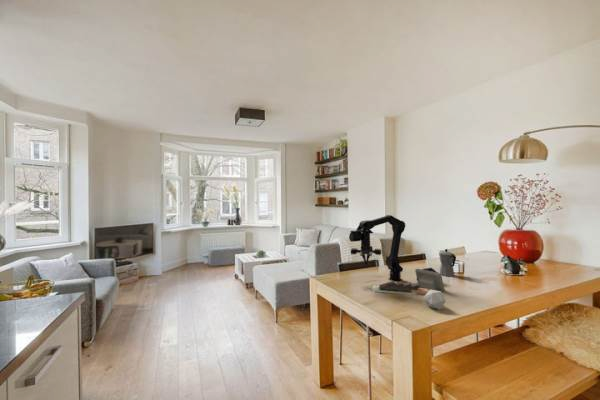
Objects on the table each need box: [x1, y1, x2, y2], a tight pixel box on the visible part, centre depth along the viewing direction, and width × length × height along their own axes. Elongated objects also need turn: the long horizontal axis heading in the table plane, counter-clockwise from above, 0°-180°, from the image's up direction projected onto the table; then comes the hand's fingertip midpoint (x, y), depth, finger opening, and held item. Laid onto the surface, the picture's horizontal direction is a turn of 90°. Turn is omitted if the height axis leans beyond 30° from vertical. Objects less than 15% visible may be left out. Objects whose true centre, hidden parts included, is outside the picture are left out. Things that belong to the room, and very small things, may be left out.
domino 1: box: [378, 280, 396, 290], centre depth 160 cm, size 2×5×9 cm
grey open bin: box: [416, 267, 439, 282], centre depth 176 cm, size 13×14×10 cm
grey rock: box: [423, 289, 446, 310], centre depth 134 cm, size 8×9×10 cm
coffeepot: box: [438, 248, 457, 278], centre depth 189 cm, size 15×9×18 cm, turn 9°
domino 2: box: [387, 280, 404, 291], centre depth 159 cm, size 2×5×9 cm
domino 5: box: [411, 288, 429, 295], centre depth 155 cm, size 2×5×9 cm
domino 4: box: [403, 281, 420, 292], centre depth 156 cm, size 2×5×9 cm
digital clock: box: [414, 268, 445, 292], centre depth 162 cm, size 16×9×11 cm, turn 23°
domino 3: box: [395, 281, 412, 291], centre depth 158 cm, size 2×5×9 cm
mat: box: [371, 285, 417, 296], centre depth 159 cm, size 24×10×1 cm, turn 71°
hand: (366, 264), depth 174 cm, fingers closed
